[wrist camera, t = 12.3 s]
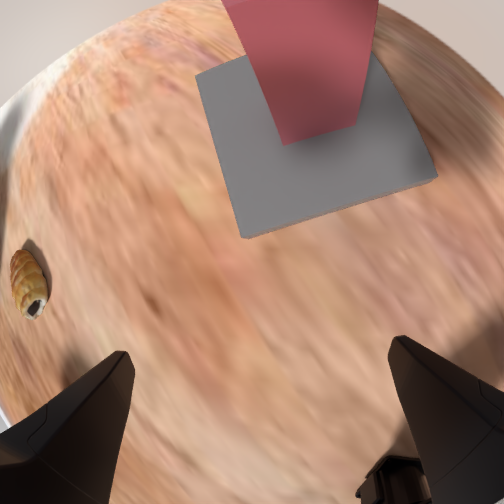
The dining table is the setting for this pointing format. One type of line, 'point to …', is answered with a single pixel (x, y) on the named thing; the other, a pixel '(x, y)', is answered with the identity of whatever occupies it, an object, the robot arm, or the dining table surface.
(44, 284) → the pastry
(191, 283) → the dining table surface
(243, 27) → the red rectangular block
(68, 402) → the robot arm
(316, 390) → the dining table surface
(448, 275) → the dining table surface
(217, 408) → the dining table surface
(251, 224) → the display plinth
